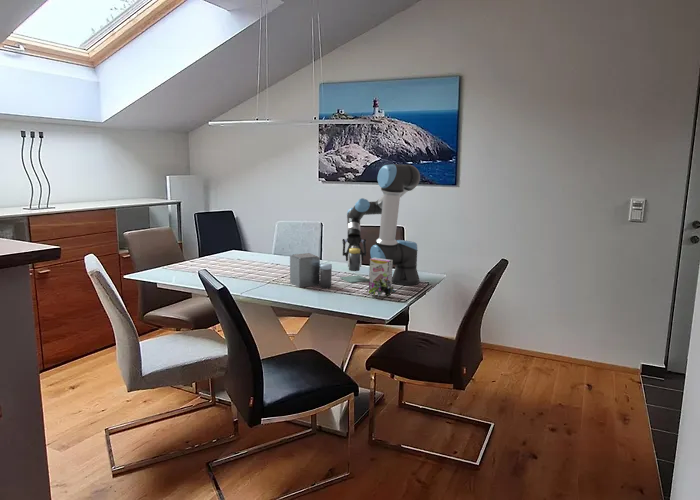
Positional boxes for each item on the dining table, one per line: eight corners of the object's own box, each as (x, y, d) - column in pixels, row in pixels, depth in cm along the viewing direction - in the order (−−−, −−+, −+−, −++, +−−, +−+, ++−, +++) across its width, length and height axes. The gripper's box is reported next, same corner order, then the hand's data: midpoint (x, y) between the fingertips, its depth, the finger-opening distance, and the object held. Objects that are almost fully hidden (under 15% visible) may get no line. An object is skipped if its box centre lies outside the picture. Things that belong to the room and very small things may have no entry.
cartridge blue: (333, 287, 272) (333, 265, 270) (323, 288, 269) (323, 266, 267) (328, 284, 278) (328, 263, 275) (317, 286, 275) (317, 264, 272)
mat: (369, 280, 288) (369, 279, 288) (350, 283, 282) (350, 281, 282) (358, 276, 298) (358, 275, 298) (340, 278, 292) (340, 277, 292)
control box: (319, 284, 277) (319, 256, 274) (299, 287, 271) (299, 258, 268) (309, 280, 288) (309, 252, 285) (289, 282, 282) (289, 254, 279)
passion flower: (386, 306, 258) (400, 288, 255) (375, 307, 249) (390, 289, 245) (371, 290, 263) (385, 273, 259) (360, 291, 254) (375, 273, 250)
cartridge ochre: (361, 270, 289) (362, 249, 287) (352, 271, 286) (352, 250, 284) (356, 268, 294) (356, 247, 292) (346, 269, 291) (347, 248, 289)
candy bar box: (368, 289, 269) (369, 258, 266) (373, 287, 273) (373, 257, 270) (387, 292, 263) (388, 261, 260) (392, 290, 268) (393, 259, 265)
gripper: (369, 235, 302) (371, 269, 289) (337, 235, 301) (337, 269, 288) (370, 228, 296) (372, 262, 283) (337, 227, 295) (337, 261, 282)
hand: (354, 265), depth 286 cm, fingers closed on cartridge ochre, 6 cm apart
